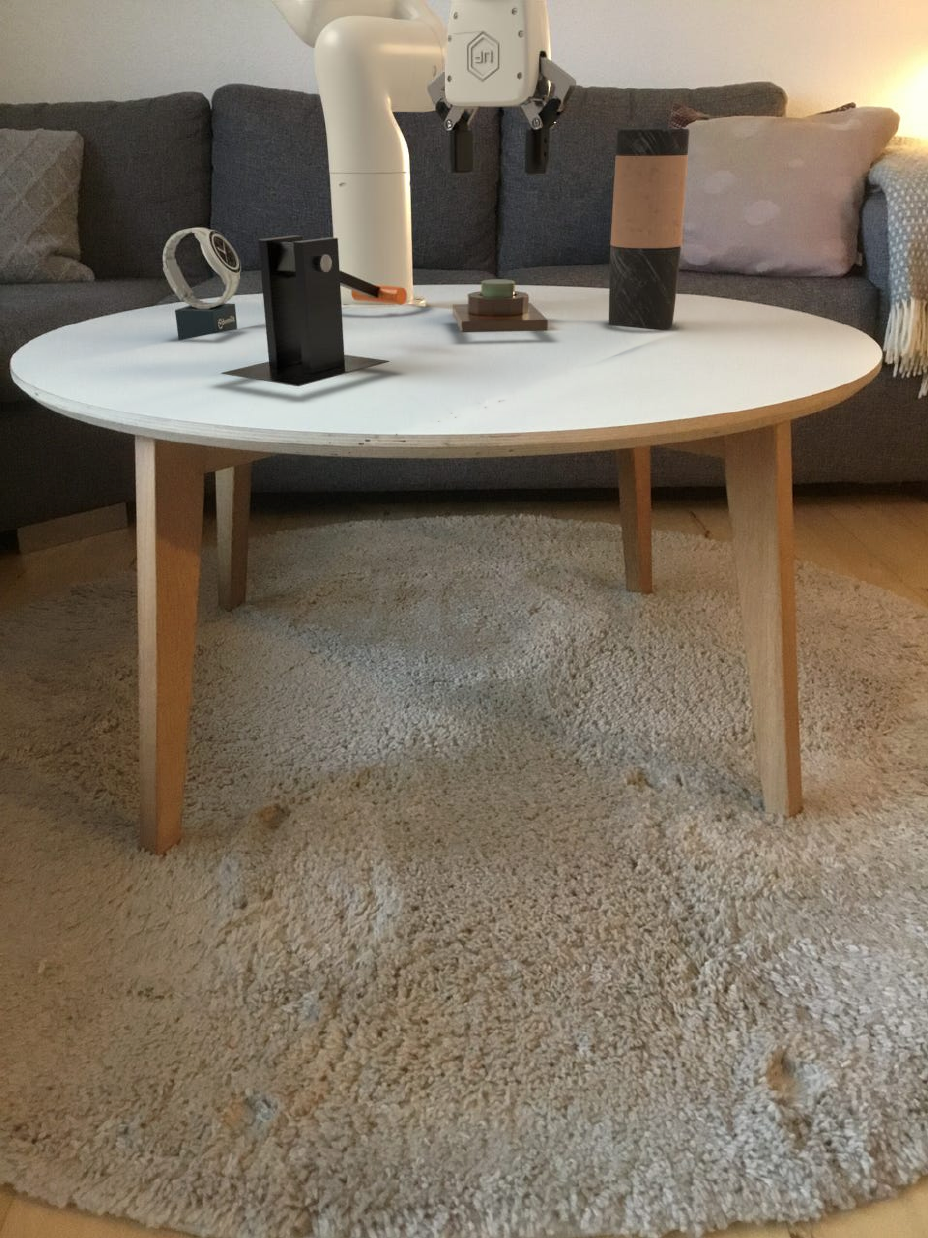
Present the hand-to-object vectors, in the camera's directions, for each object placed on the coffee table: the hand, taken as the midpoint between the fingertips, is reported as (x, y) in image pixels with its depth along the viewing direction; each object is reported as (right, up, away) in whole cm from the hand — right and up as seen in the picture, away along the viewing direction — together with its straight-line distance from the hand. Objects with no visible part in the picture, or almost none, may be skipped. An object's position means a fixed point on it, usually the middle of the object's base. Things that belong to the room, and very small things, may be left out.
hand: (498, 172), depth 104 cm
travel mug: (+16, -13, +10) cm, 23 cm away
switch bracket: (-17, -25, -14) cm, 34 cm away
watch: (-31, -15, +6) cm, 35 cm away
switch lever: (-15, -17, -14) cm, 27 cm away
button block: (0, -14, +7) cm, 16 cm away
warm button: (0, -11, +5) cm, 13 cm away
